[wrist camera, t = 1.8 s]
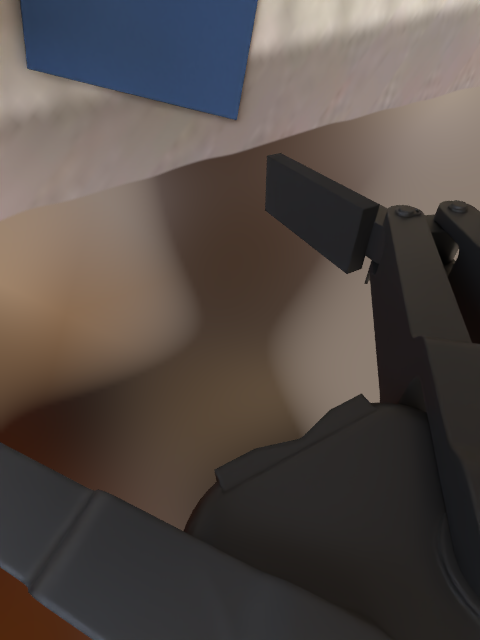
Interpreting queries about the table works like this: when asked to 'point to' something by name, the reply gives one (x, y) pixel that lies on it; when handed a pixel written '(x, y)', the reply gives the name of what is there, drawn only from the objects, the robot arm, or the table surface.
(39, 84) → the table surface
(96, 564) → the robot arm
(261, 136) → the table surface
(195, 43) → the blue cloth
